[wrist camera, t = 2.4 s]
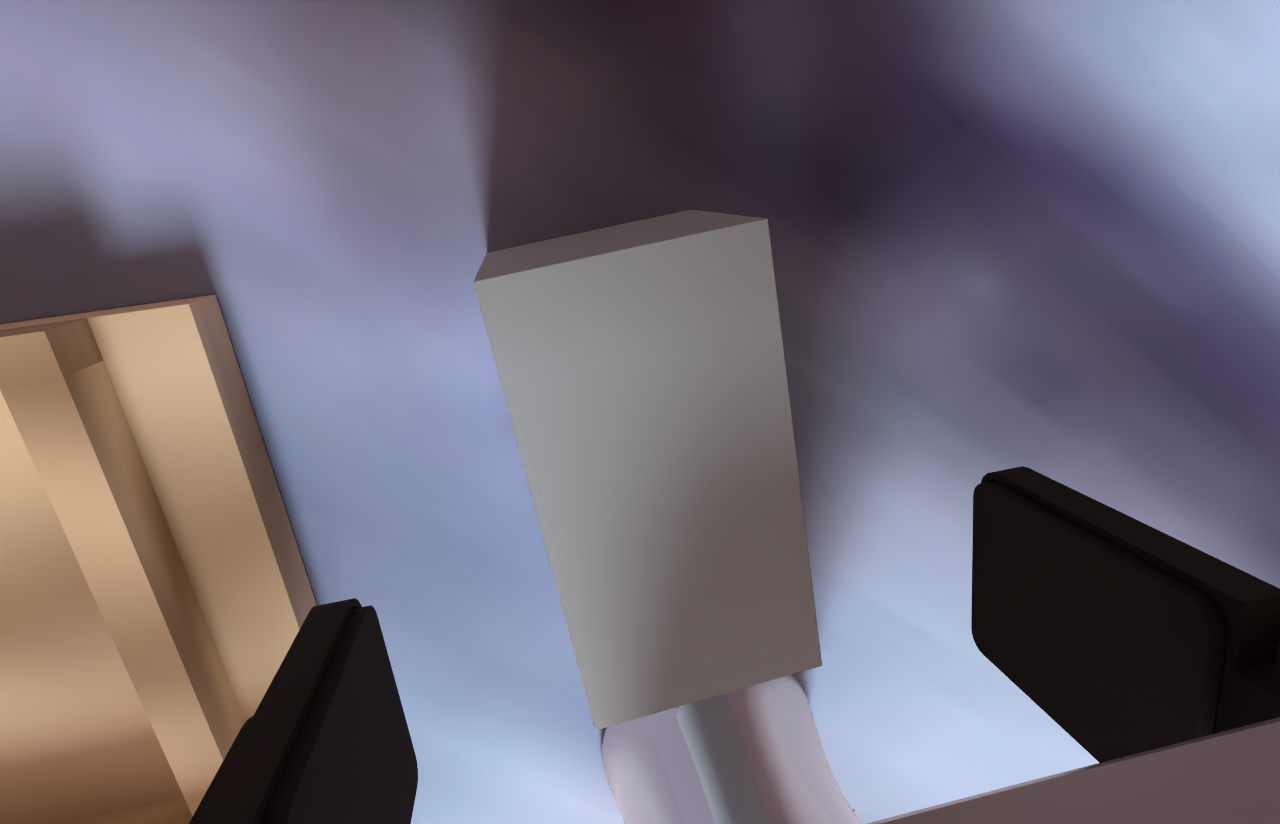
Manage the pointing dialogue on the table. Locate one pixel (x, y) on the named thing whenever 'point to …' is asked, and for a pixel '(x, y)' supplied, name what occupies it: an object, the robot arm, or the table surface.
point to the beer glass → (726, 762)
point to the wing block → (659, 453)
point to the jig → (133, 563)
